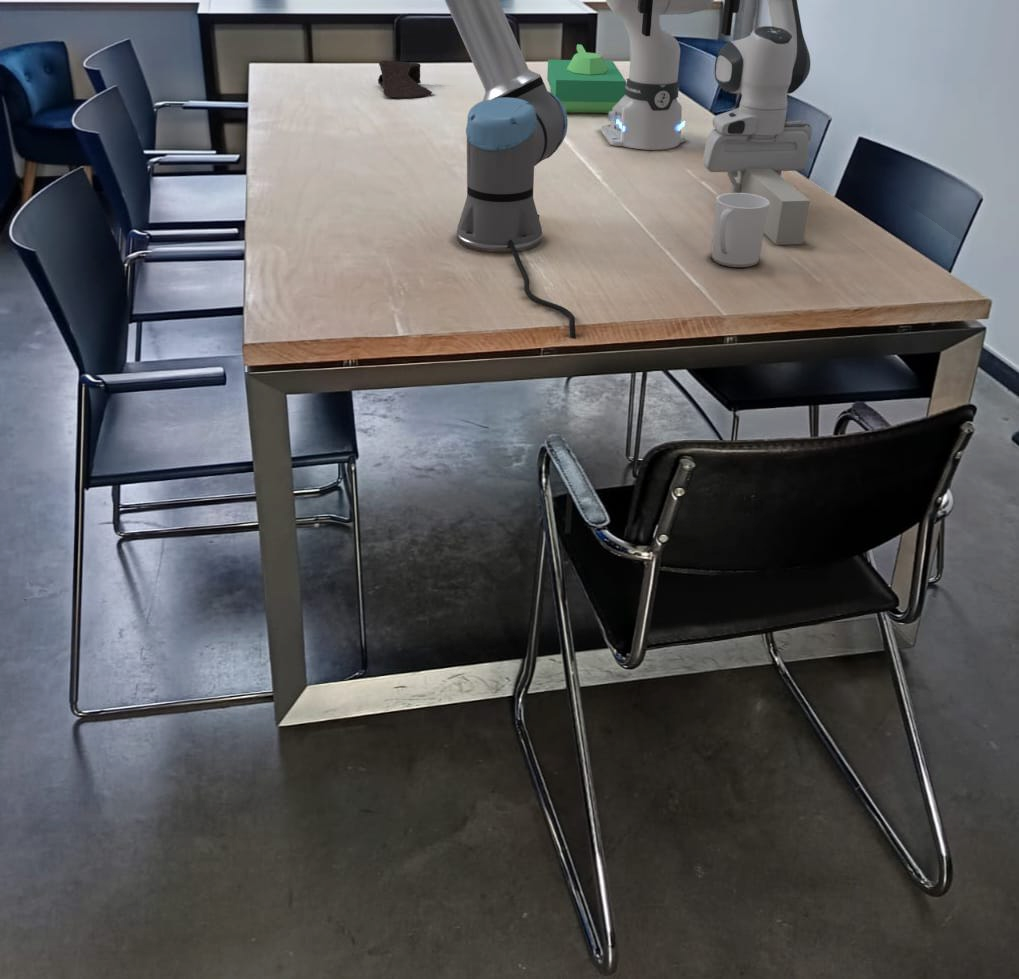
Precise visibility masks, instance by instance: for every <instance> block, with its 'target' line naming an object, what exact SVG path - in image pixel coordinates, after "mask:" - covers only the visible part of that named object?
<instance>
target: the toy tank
mask: <svg viewBox="0 0 1019 979" xmlns="http://www.w3.org/2000/svg"><path fill="white" fill-rule="evenodd" d="M576 51H577V52H576V53H575V54H574V55H573V56H572V58H571V59H547V71H546V72H547V74H546V75H547V76H546V80H547V83H548V85H549V89H550V90H549V92H550V93H552V94H554V95H555V96H556V97H557V98H558V99H559V100H560V101H561V103H562V104H563V106H564V108H565V111H566V113H582V114H583V113H585V114H586V113H587V114H588V113H589V114H591V113H592V114H593V113H594V114H595V113H596V114H608V113H609V112H610V111H612V108H613V107H614V106H615V105H616V104H617V103H618V102H619V101H620V100H621V98H622V97H623V96H624V95H625V93H624V91H625V85H626V83H627V80H626V79H625V78H624V76H623V75H622V73H621V71H620V70H619V68H618V67H617V65H616V64H615V62H614V61H613V60H605V59H604V57H603V55H601V54H599V53H595V52H587V51H586V49H585V48H584V46H583V45H582V44H576Z"/></svg>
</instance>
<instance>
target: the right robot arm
mask: <svg viewBox="0 0 1019 979" xmlns="http://www.w3.org/2000/svg"><path fill="white" fill-rule="evenodd" d="M714 1H715V0H653V6H652V19H651V32H650V36H645V35H643V34H642V22H643V13H639V12H638V0H605V3H606V4H607V6H608V8H609V9H610V10H611V11H612V12H613V13H614V14H615V15H616V16H617V17H618V19H619V20H621V22H622V24H623V25H624V27H625V28H624V29H625V30H626V33H627V37H628V41H629V76H628V78H626V79H625V80H626V85H625V91H624V93H625V95H624V96H623V97H622V98H621V100H620V101H619V102H618V103H617V104H616V105H615V106H614V107H613V108H612V111H610V112H609V113H607V120H608V122H610V124H605V125H602V126H600V132H601V133H602V135H603V136H604V138H605V139H606V141H607V142H608V144H609V145H611V146H615V147H625V148H629V149H635V150H646V151H647V150H648V151H651V150H652V151H654V150H656V151H657V150H658V151H659V150H668V149H672V148H673V149H674V148H676V147H678V146H679V145H680V144H681V143H685V142H686V136H685V135H683V134H682V129H683V128H684V126H685V125H686V120H683V121H682V116H683V113H682V112H683V108H682V107H683V106H682V104H681V103H679V101H678V98H679V91H680V81H679V80H678V78H679V69H680V58H681V46H680V44H679V42H678V39H676V38H675V37H674V36H673V35H671V34H670V33H669V32H667V31H665V30H663V29H662V27H661V21H660V20H661V19H660V18H661V16H663V15H664V16H665V15H666V16H667V15H671V16H672V15H689V14H695V13H698V12H702V11H705V10H707V9H709V8H710V7H711V5H712V4H713V3H714ZM767 5H768V11H769V15H770V22H771V26H770V25H765V26H758V27H756V28H754V29H753V30H752V31H751V32H750V35H748V36H745V37H744V38H739V39H735V40H731V41H727V42H725V44H724V45H722V47H721V49H720V50H719V51H718V53H717V55H716V58H715V61H714V70H713V72H714V79H715V81H716V83H717V84H718V86H719V87H720V88H721V89H722V90H723V91H724V92H726V93H730V94H740V95H741V98H740V101H739V105H738V107H737V108H733V109H732V110H728V111H726V112H723V113H720V114H717V115H715V116H713V117H712V126H713V129H712V130H711V131H710V133H709V134H708V135H707V139H706V142H705V146H704V151H703V156H702V157H703V158H702V164H703V167H704V168H705V169H706V170H707V171H708V172H710V173H726V175H727V178H728V179H729V182H730V184H731V186H730V193H740V192H741V191H740V190H741V185H740V184H739V183H736V180H735V177H737V176H738V172H745V169H759V168H771V169H772V170H773V171H775V172H776V173H777V174H778V175H780V176H781V177H782V172H785V171H786V172H797V171H799V172H800V171H804V170H805V169H806V167H807V166H808V164H809V154H810V153H809V152H810V141H811V139H812V134H813V128H812V125H811V124H810V123H809V122H807V121H806V120H804V119H801V120H792V119H791V120H788V119H787V118H786V117H787V111H788V95H790V94H793V93H795V92H796V91H797V90H798V89H799V88H800V87H801V86H802V85H803V84H804V82H805V81H806V79H807V78H808V76H809V74H810V71H811V54H810V52H809V48H808V46H807V44H806V40H805V37H804V33H803V29H802V28H803V27H802V22H801V16H800V10H799V5H798V0H767Z"/></svg>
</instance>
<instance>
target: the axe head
mask: <svg viewBox="0 0 1019 979" xmlns="http://www.w3.org/2000/svg"><path fill="white" fill-rule="evenodd" d="M378 66H379V68H380V72H381V74H379V75H378V79H377V84H378V85H379V86H380V87H381V88H382V89H383V95H384V96H385V97H388V98H394V99H395V98H396V99H403V98H405V99H406V98H407V99H411V98H418V97H425V96H429V95H432V94H433V91H431V90H430V89H428V88H427V87H425V86H422V85H421V84H422V82H421V63H419V62H410V61H408V62H407V61H397V60H388V59H387V60H380V61H379V62H378Z"/></svg>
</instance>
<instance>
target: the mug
mask: <svg viewBox="0 0 1019 979" xmlns="http://www.w3.org/2000/svg"><path fill="white" fill-rule="evenodd" d="M769 204H770V202H769V200H767V199H766V198H764V197H761V196H758V195H753V194H747V193H731V192H727V193H722V194H719V195H717V196H716V198H715V204H714V218H713V232H712V246H711V258H712V261H713V262H715V263H716V264H719V265H721V266H724V267H728V268H729V267H732V268H748V267H749V268H750V267H753V266H755V265H757V264H758V263H759V261H760V255H761V250H762V246H763V240H764V235H765V234H764V230H765V225H766V220H767V214H768V209H769Z"/></svg>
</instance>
